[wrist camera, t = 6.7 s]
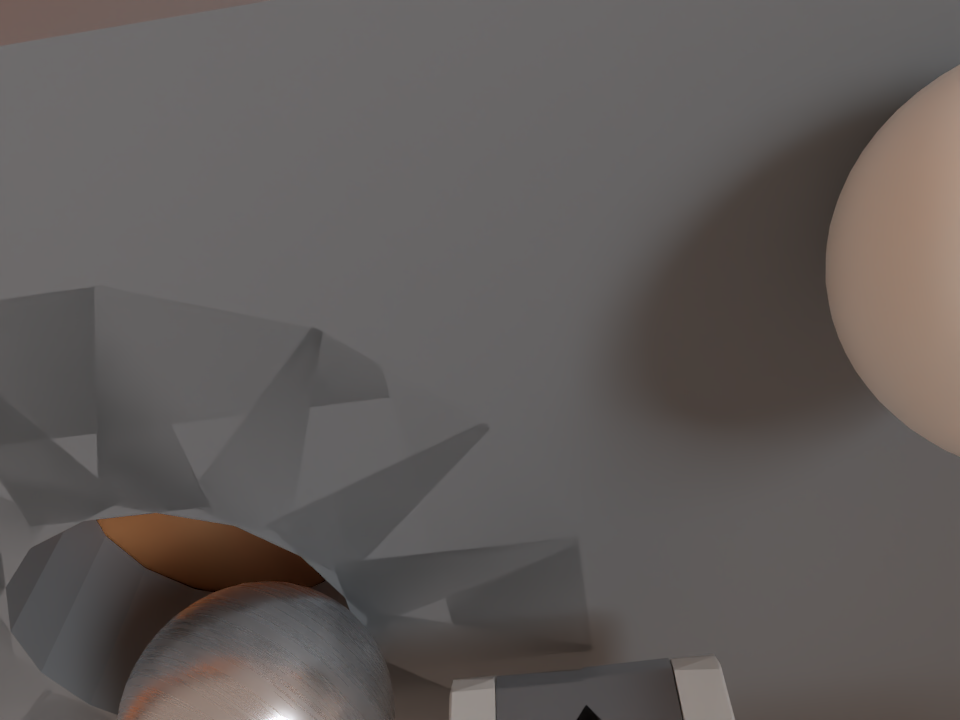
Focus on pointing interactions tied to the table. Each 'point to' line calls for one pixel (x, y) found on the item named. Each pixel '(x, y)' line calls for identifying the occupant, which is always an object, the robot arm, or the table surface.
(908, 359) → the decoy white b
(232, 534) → the table surface
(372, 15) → the board
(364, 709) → the steel ball
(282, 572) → the table surface
